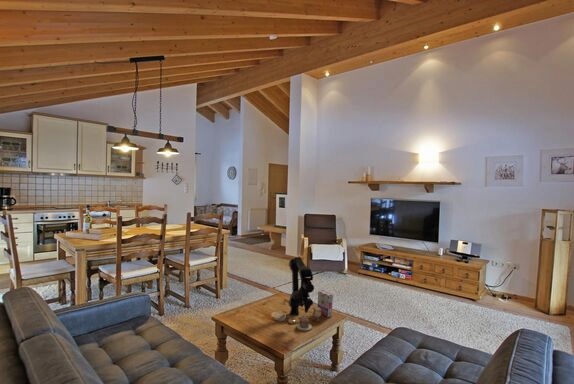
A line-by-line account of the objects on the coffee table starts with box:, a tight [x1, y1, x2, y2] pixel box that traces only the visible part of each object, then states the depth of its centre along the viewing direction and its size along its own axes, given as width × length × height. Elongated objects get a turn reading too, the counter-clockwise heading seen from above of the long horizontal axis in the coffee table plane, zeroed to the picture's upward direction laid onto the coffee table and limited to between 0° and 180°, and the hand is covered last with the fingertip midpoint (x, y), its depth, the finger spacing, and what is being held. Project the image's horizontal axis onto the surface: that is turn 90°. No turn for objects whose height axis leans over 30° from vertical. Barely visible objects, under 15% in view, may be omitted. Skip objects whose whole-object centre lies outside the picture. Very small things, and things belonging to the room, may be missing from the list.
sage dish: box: [296, 322, 312, 332], centre depth 202 cm, size 10×10×1 cm
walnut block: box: [298, 316, 310, 328], centre depth 202 cm, size 5×5×5 cm
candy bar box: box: [317, 289, 334, 318], centre depth 224 cm, size 11×5×16 cm, turn 37°
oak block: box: [312, 306, 322, 316], centre depth 213 cm, size 4×4×4 cm
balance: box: [288, 313, 322, 325], centre depth 211 cm, size 24×6×5 cm, turn 104°
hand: (303, 309), depth 202 cm, fingers open, 9 cm apart
